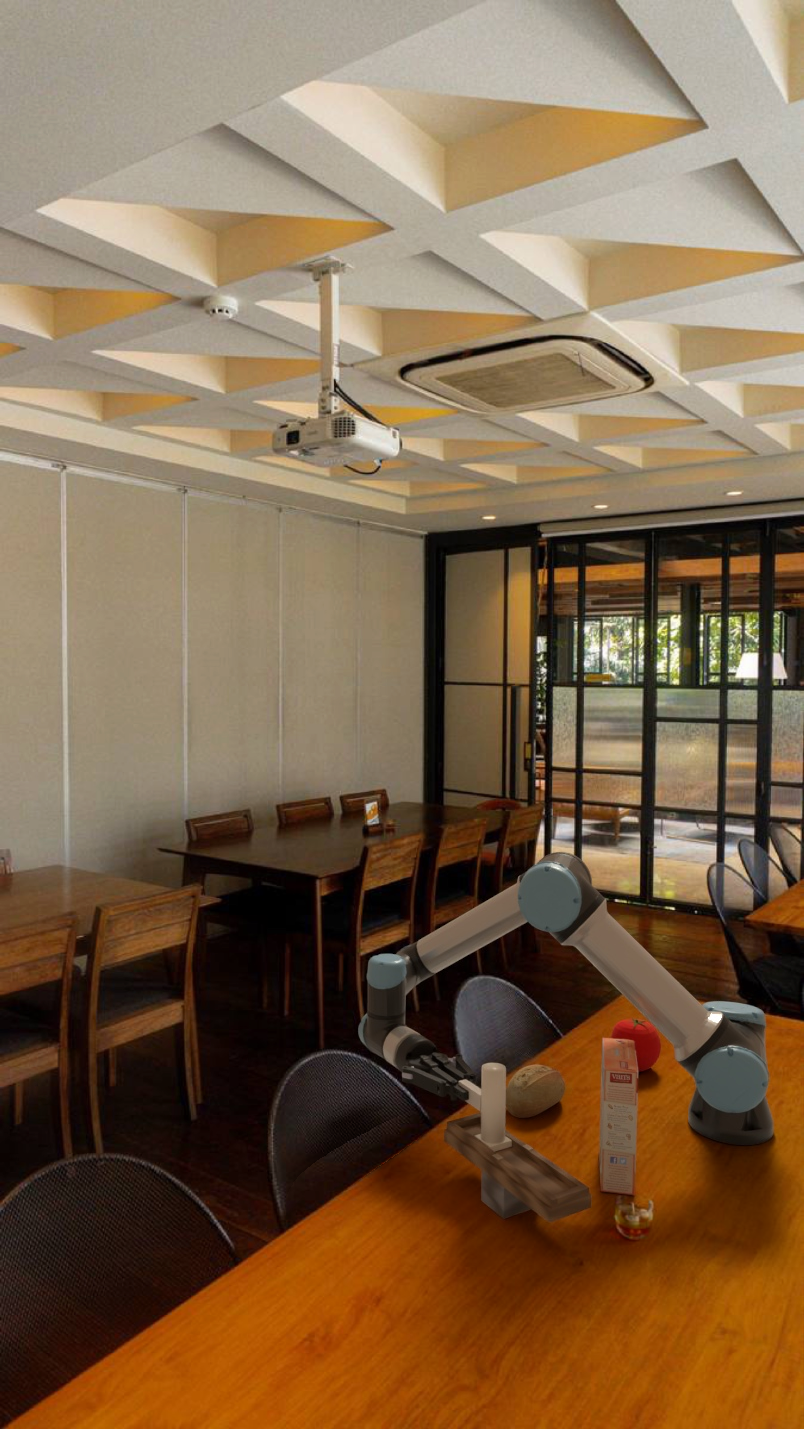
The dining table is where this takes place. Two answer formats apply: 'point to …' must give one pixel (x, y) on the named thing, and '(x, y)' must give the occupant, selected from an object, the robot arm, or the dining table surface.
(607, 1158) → the cracker box
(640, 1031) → the tomato
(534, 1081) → the bread roll
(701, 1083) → the robot arm
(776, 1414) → the dining table surface
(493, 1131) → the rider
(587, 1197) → the beam
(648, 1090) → the dining table surface
